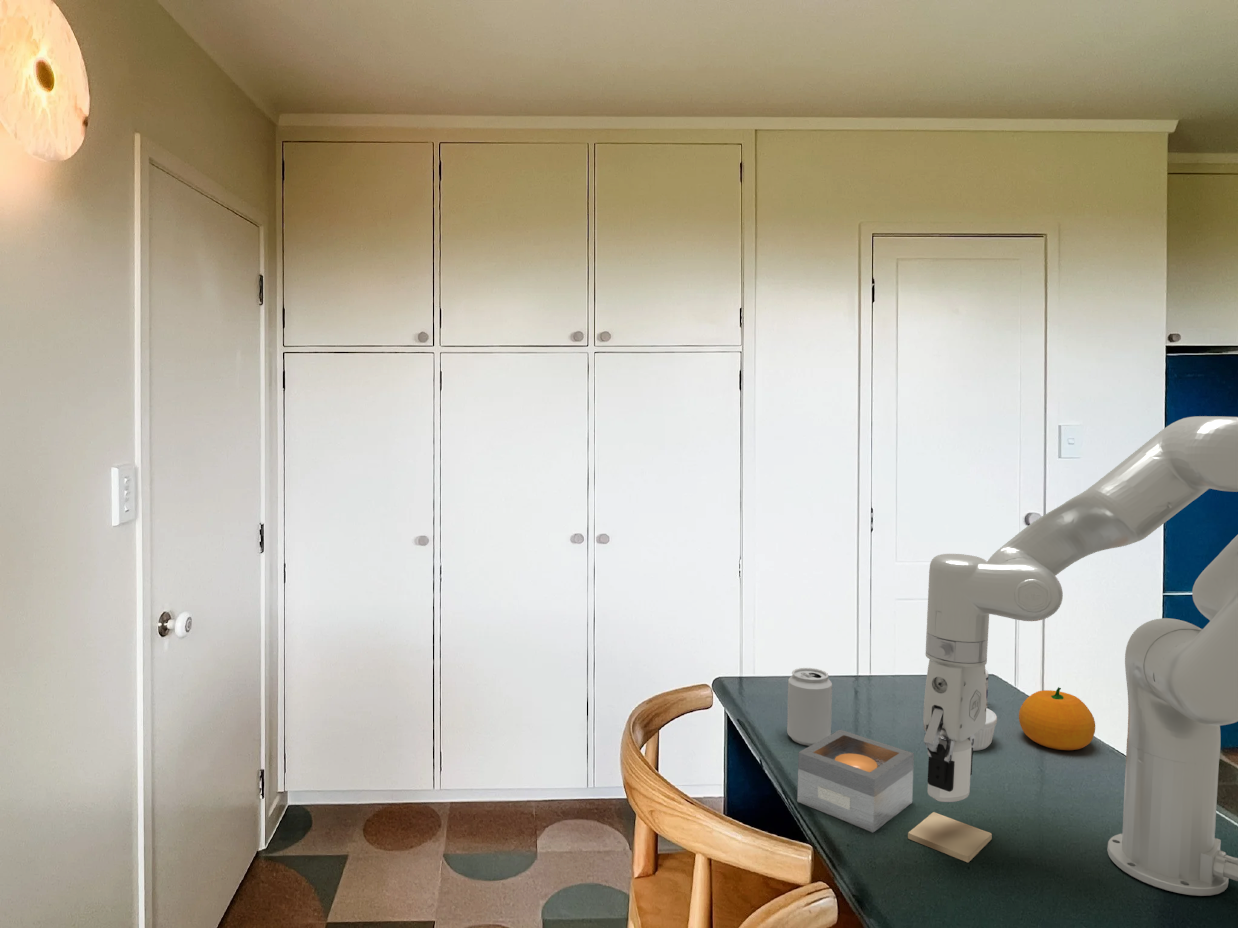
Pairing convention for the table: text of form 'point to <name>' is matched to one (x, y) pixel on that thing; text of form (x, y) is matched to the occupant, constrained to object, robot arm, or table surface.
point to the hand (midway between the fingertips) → (949, 778)
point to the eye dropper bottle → (956, 773)
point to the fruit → (1057, 720)
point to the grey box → (855, 780)
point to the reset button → (857, 761)
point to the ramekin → (985, 732)
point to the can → (809, 706)
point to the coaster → (950, 836)
